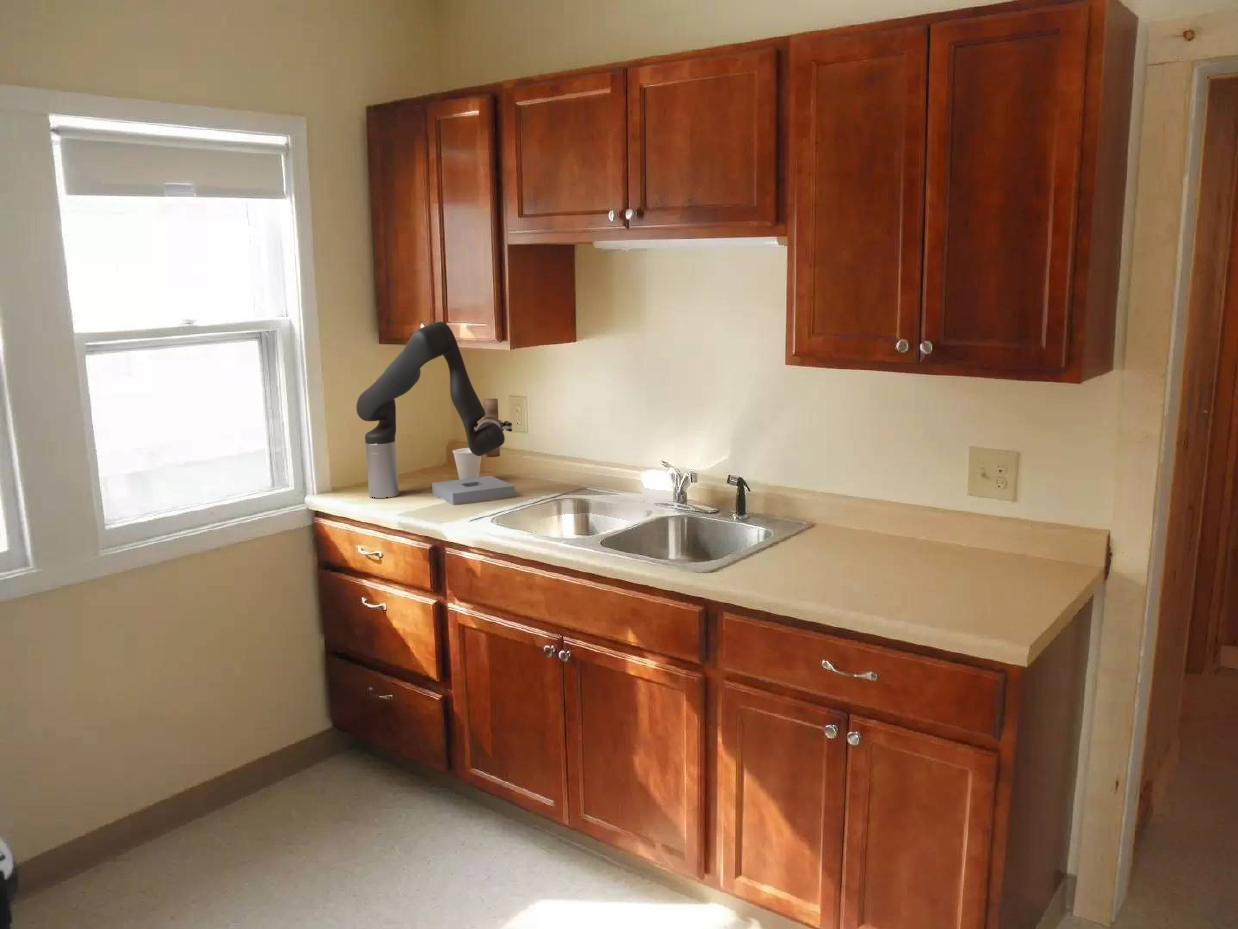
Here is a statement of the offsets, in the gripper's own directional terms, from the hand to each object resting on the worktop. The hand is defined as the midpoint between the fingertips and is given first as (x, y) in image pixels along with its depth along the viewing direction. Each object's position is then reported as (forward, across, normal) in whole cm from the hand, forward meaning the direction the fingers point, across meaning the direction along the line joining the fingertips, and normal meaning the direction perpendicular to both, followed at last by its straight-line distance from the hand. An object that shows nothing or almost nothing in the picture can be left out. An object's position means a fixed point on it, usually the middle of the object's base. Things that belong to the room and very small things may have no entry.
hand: (491, 423), depth 326 cm
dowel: (-3, 0, +10) cm, 10 cm away
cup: (+14, +9, +22) cm, 28 cm away
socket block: (-6, +6, +22) cm, 23 cm away
